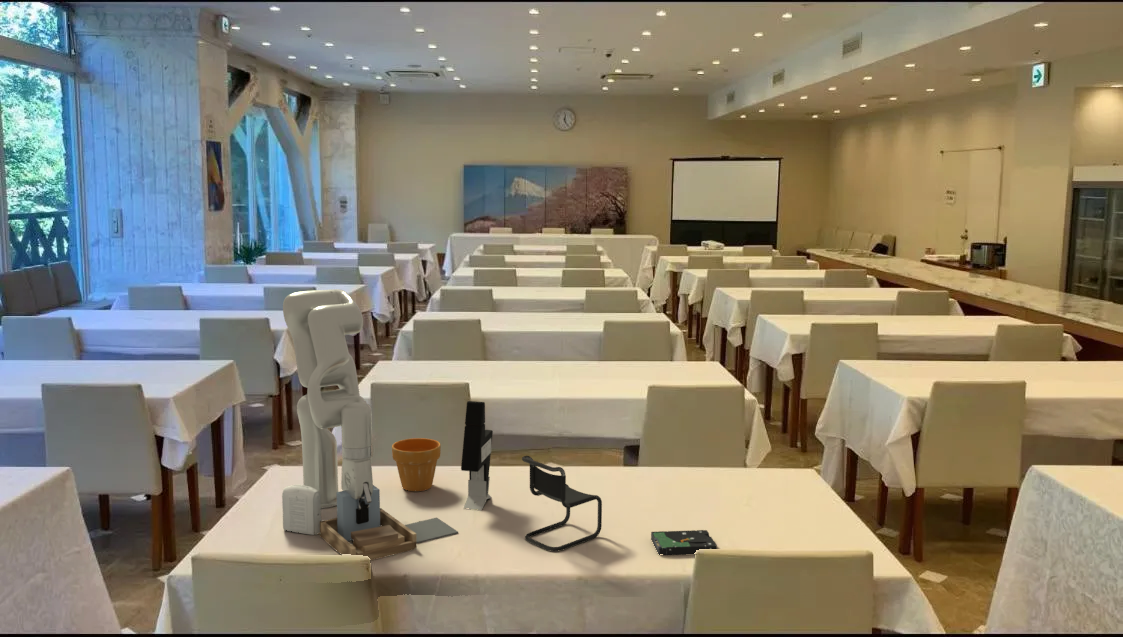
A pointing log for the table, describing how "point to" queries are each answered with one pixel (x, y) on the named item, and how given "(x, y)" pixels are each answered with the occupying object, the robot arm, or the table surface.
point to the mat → (430, 529)
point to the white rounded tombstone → (301, 509)
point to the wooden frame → (344, 547)
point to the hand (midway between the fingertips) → (358, 519)
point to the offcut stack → (375, 538)
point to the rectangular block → (348, 513)
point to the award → (476, 455)
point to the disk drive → (681, 542)
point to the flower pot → (416, 462)
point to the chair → (558, 499)
